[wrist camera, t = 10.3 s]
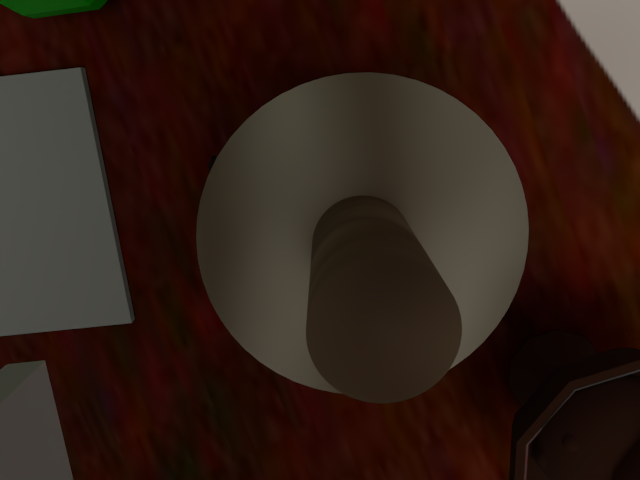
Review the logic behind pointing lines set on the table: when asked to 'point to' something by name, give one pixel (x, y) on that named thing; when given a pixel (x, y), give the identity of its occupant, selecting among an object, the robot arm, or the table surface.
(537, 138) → the table surface
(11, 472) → the robot arm
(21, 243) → the mat
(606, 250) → the table surface
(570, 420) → the ice cream bowl
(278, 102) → the lid
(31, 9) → the plastic bottle
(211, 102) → the table surface
